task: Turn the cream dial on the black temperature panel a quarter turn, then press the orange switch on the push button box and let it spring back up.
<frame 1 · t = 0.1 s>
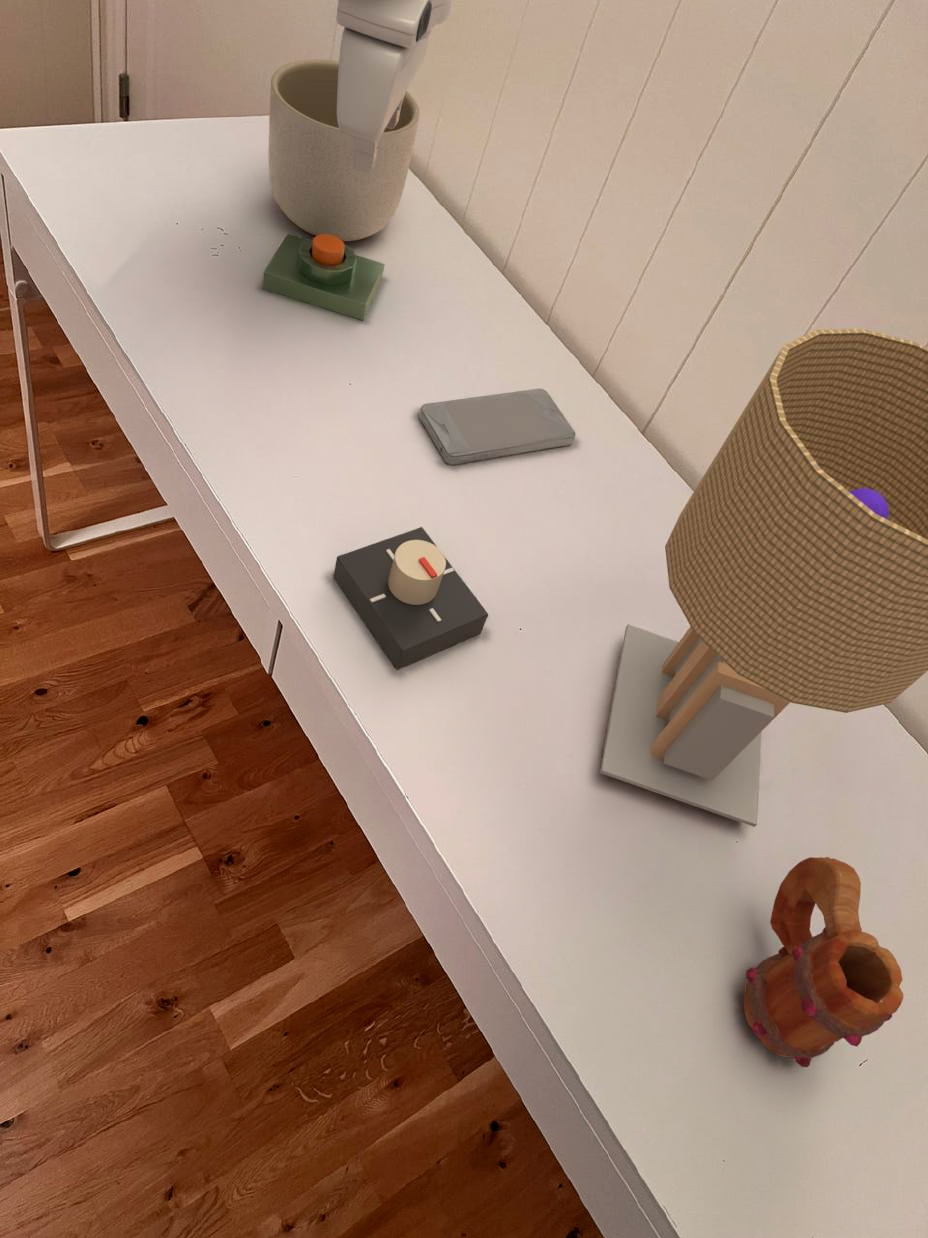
hand: (375, 145, 85), 21 cm above the table, tool pointing down, fingers open, 8 cm apart
dial: (417, 571, 77), point 5 cm above the table, hinge at 0.0°
planter: (331, 220, 115), on the table
desk lamp: (676, 732, 80), on the table
switch: (328, 249, 103), point 4 cm above the table, slide at 0.1 cm
phone: (496, 431, 98), on the table
temp panel: (406, 605, 81), on the table
push button box: (323, 284, 106), on the table
mug: (767, 984, 68), on the table
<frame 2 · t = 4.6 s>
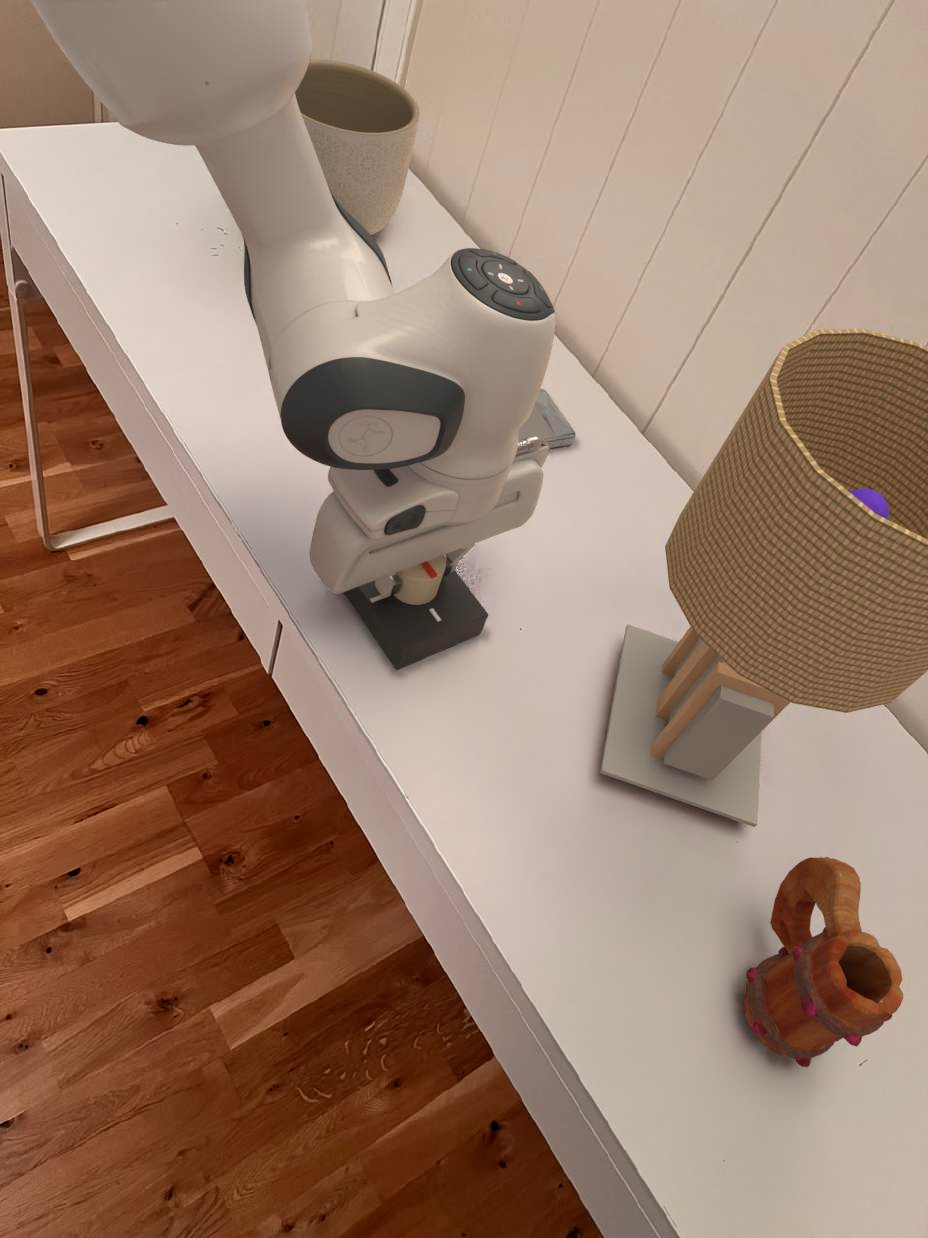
hand: (414, 579, 78), 4 cm above the table, tool pointing down, fingers closed on dial, 4 cm apart
dial: (417, 571, 77), point 5 cm above the table, hinge at 0.0°, touching gripper
everything else where it was.
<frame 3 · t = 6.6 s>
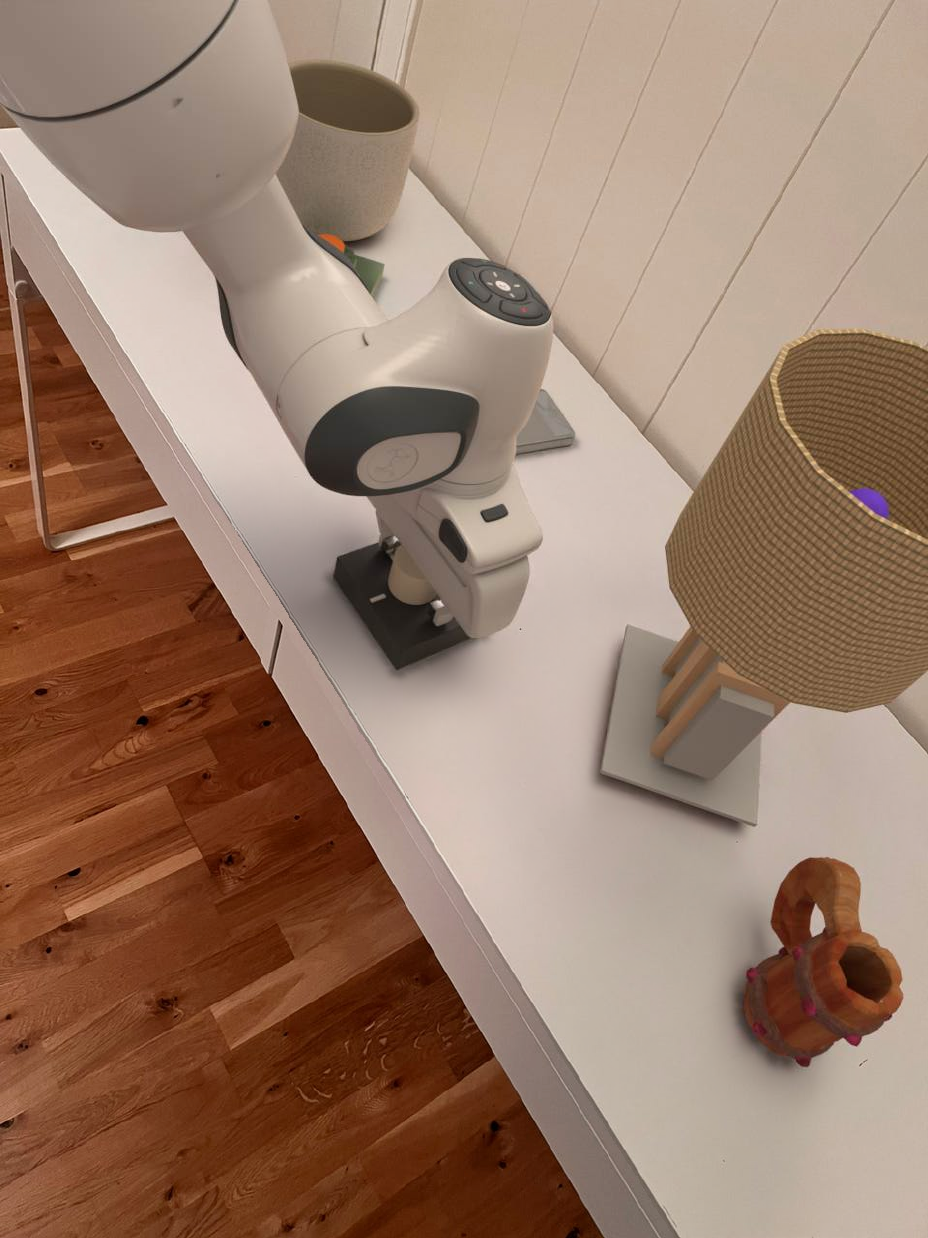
hand: (413, 582, 78), 3 cm above the table, tool pointing down, fingers open, 7 cm apart
dial: (417, 571, 77), point 5 cm above the table, hinge at 86.8°
everything else where it was.
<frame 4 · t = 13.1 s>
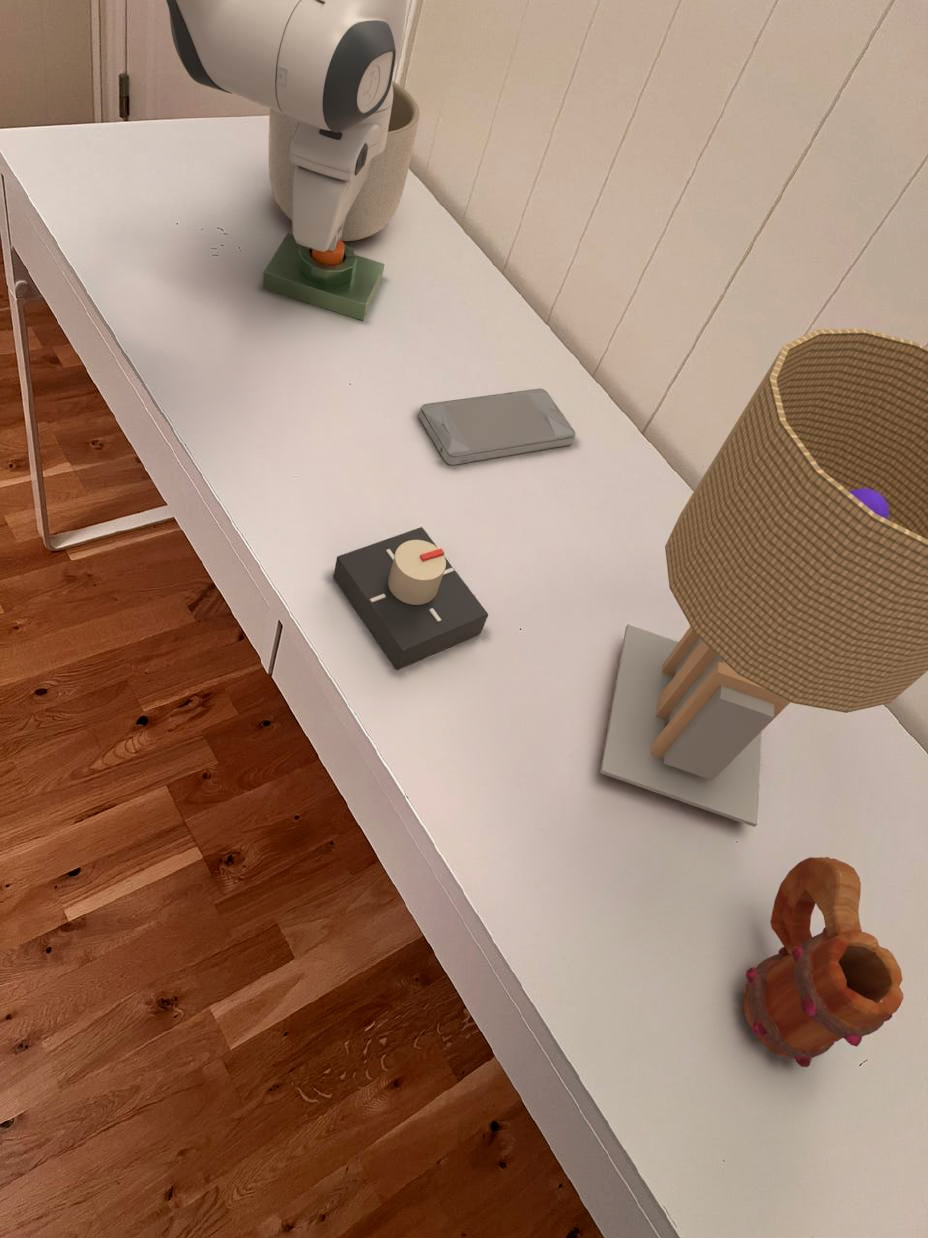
hand: (330, 243, 102), 5 cm above the table, tool pointing down, fingers closed, pressing on switch
switch: (328, 250, 103), point 4 cm above the table, slide at 0.0 cm, touching gripper
everything else where it was.
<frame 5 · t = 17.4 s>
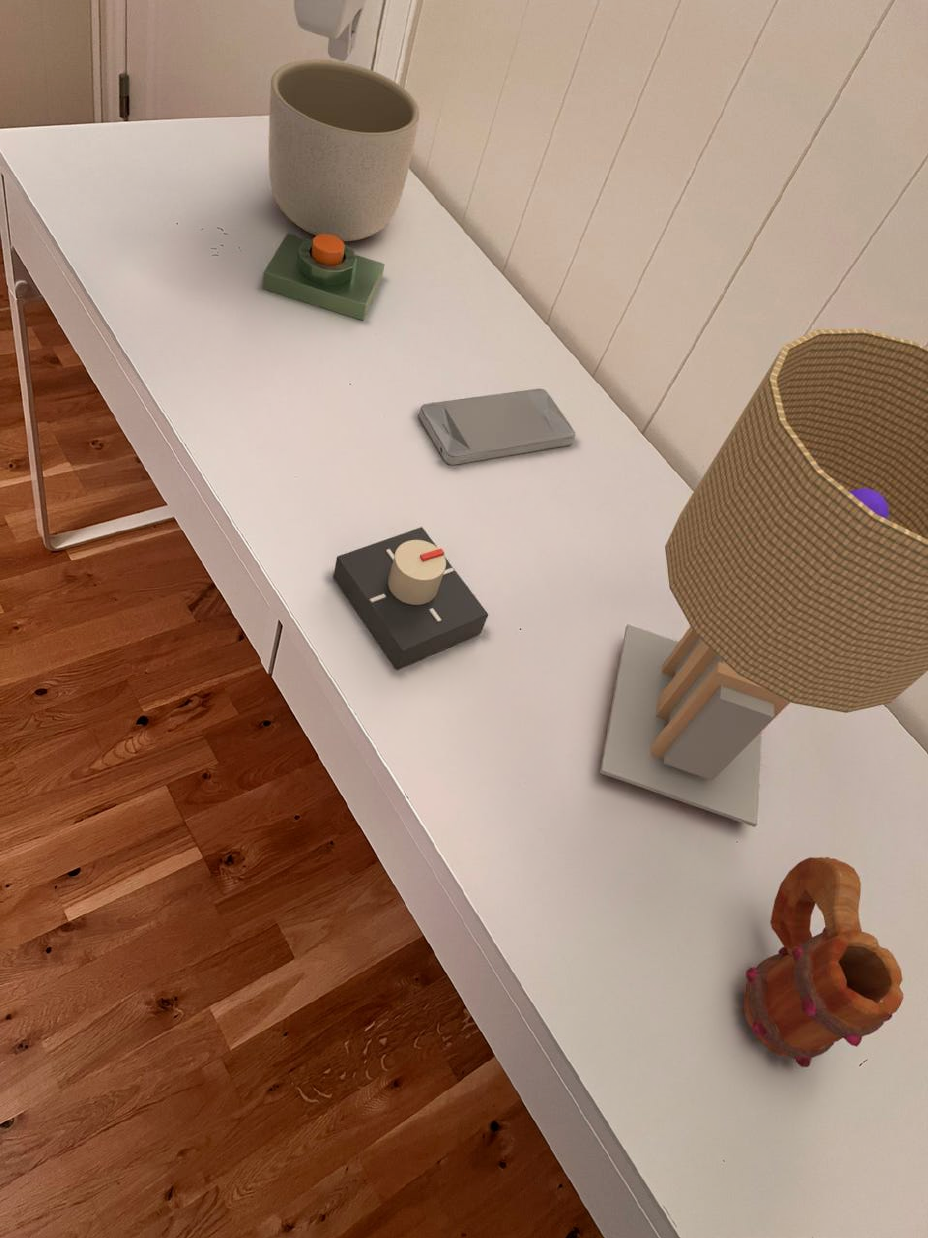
hand: (340, 53, 82), 27 cm above the table, tool pointing down, fingers closed
switch: (328, 249, 103), point 4 cm above the table, slide at 0.1 cm
everything else where it was.
at the end: dial at +87° (first picture: +0°); switch pushed in 1.0 cm at the most during the clip, back to where it started at the end; switch slide at 0.1 cm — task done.
